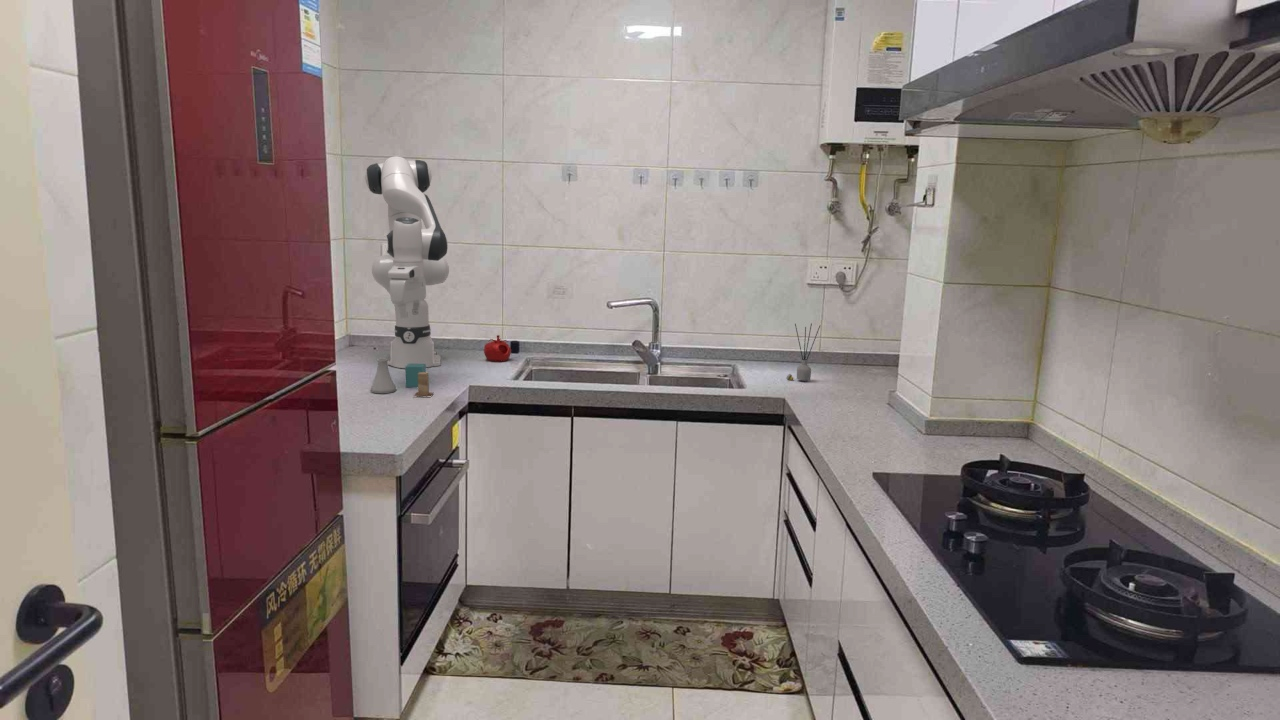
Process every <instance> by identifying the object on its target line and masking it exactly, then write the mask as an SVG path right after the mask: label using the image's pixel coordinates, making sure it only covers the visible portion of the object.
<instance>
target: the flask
mask: <svg viewBox="0 0 1280 720" xmlns="http://www.w3.org/2000/svg"><path fill="white" fill-rule="evenodd" d="M388 361H389V358H383V357H382V358H377V359H376V362H377V370H376V374H375V376H374V379H373V382H372V385H371V388H370V390H369V391H370V392H371V393H373V394H383V395H384V394H390V393H394V392H396V391H397V388H396V385H395V383H394V381H393V379H392V375H391V373H390V370H389V367H388V366H389V365H388V364H387V362H388Z"/></svg>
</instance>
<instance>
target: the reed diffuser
mask: <svg viewBox="0 0 1280 720" xmlns="http://www.w3.org/2000/svg"><path fill="white" fill-rule="evenodd" d="M794 326H795V331H796V336H797V340H798V344H799V345H798V346H799V350H800V355H801V364H800V365H799V366H798V367H797V369H796V379H797V380H798V381H810V380H811V375H812V368H811V366H809V365H808V359H809V356H810V354H811V351H812V348H813V347H814V346H813V345H814V343H815V341H816V338H817V335H818V334H819V333H818V332H819V330H820V328H821V325H819V326H818V329H817V331H816V334H815V337H814V339H813V342H812V344H811V347H810V349H809V353H808V354H807V352H808V348H809V347H808V345H809V341H810V336H811V330H812V326H813V325H812V322H811V323H810V327H809V334H808V338H807V343H806V342H803V343H804V345H803V352H802V349H801V348H802V347H801V343H800V338H799V333H798V328H797V324H796V323H794ZM806 334H807V326H805V327H804V340H806V336H807V335H806ZM786 380H788V381H789V380H790V381H794V377H793V374H792V373H789V374H787V375H786Z"/></svg>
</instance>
